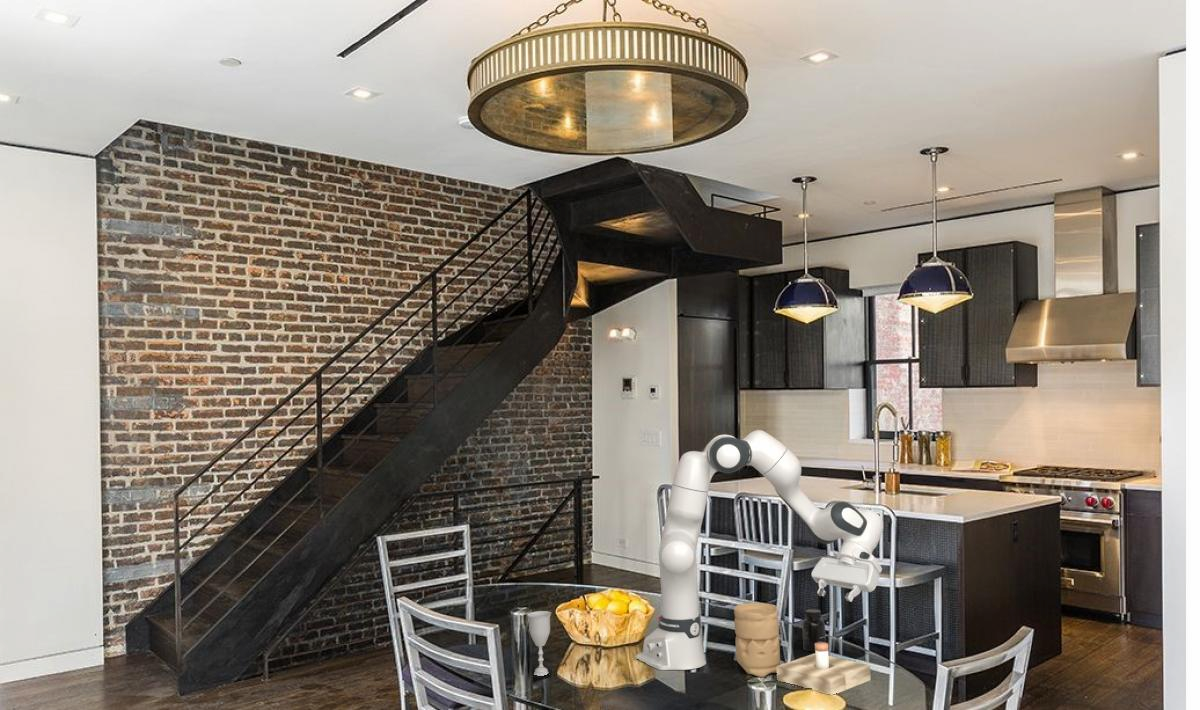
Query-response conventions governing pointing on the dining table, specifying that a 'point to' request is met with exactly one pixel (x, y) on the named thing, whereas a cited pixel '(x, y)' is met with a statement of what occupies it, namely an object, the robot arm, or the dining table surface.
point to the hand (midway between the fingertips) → (833, 597)
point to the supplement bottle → (813, 629)
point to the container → (757, 638)
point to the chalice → (539, 635)
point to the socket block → (824, 674)
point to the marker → (822, 655)
